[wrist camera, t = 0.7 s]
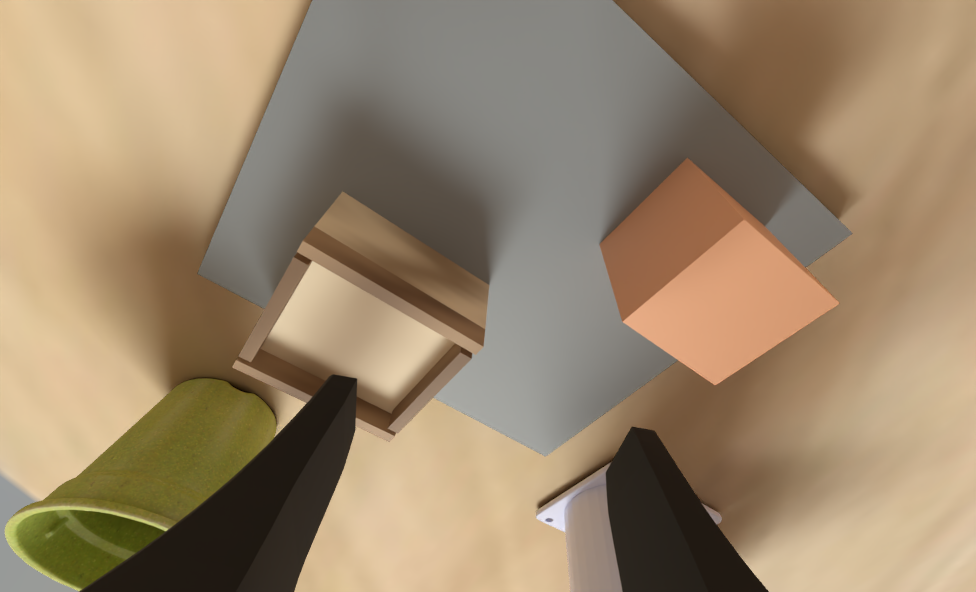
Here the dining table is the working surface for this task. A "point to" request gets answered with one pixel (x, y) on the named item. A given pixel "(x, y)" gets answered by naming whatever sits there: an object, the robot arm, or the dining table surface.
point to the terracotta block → (707, 277)
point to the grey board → (499, 179)
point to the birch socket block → (368, 318)
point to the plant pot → (143, 482)
